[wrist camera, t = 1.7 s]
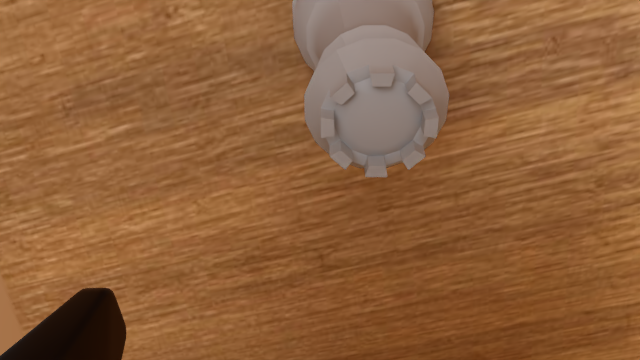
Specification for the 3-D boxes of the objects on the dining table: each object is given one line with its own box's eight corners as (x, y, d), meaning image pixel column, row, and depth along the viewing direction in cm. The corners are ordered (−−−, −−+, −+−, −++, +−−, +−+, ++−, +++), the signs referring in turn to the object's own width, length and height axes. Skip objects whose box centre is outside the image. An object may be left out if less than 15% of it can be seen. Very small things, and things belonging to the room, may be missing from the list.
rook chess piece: (264, -9, 19) (230, 102, 12) (385, -94, 17) (421, -22, 11) (340, 97, 21) (347, 241, 14) (454, 29, 19) (520, 153, 13)
